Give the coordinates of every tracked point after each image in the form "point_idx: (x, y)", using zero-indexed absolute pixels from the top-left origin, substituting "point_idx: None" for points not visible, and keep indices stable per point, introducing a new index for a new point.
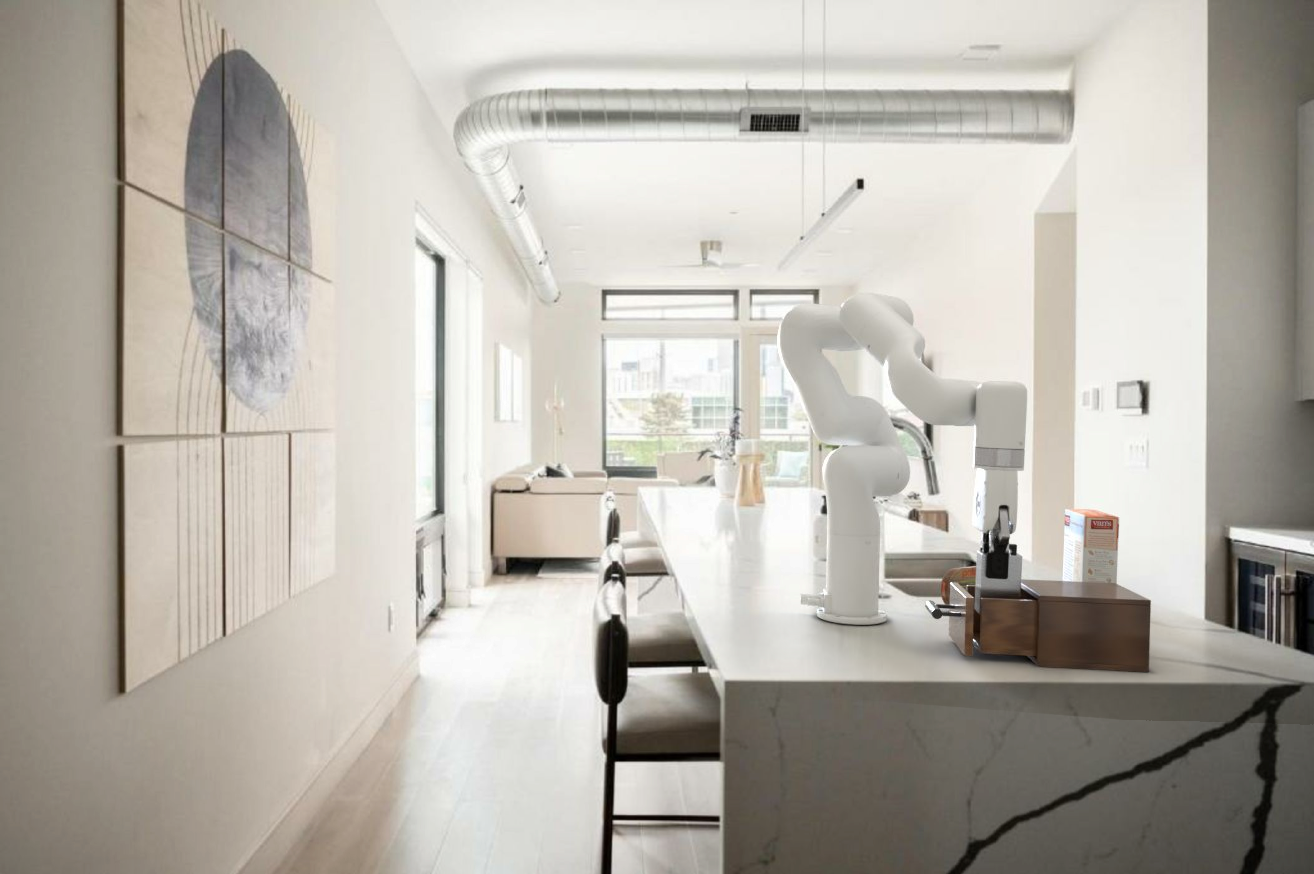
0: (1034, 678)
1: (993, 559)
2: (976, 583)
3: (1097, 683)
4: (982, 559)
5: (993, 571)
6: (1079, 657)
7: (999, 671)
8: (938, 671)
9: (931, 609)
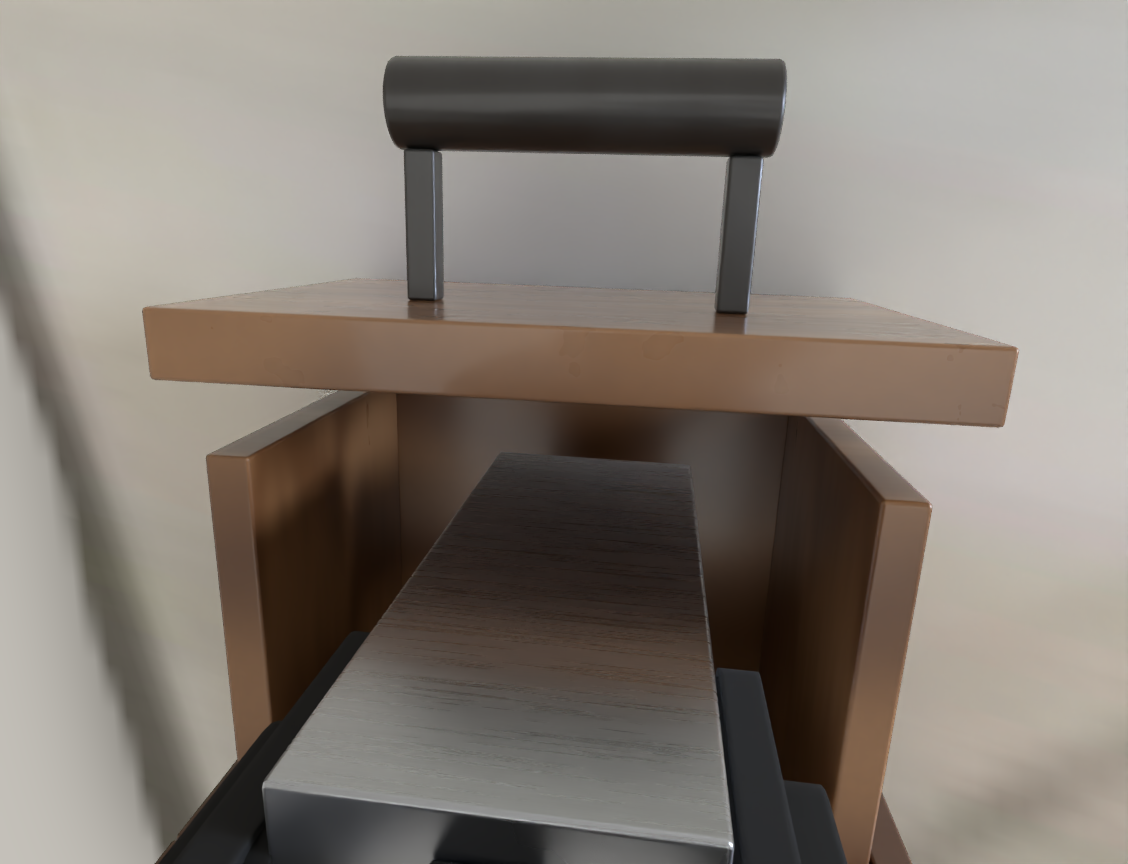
0: (161, 520)
1: (179, 843)
2: (646, 550)
3: (165, 729)
4: (308, 725)
5: (270, 726)
6: None
7: (230, 404)
8: (139, 93)
9: (456, 59)
